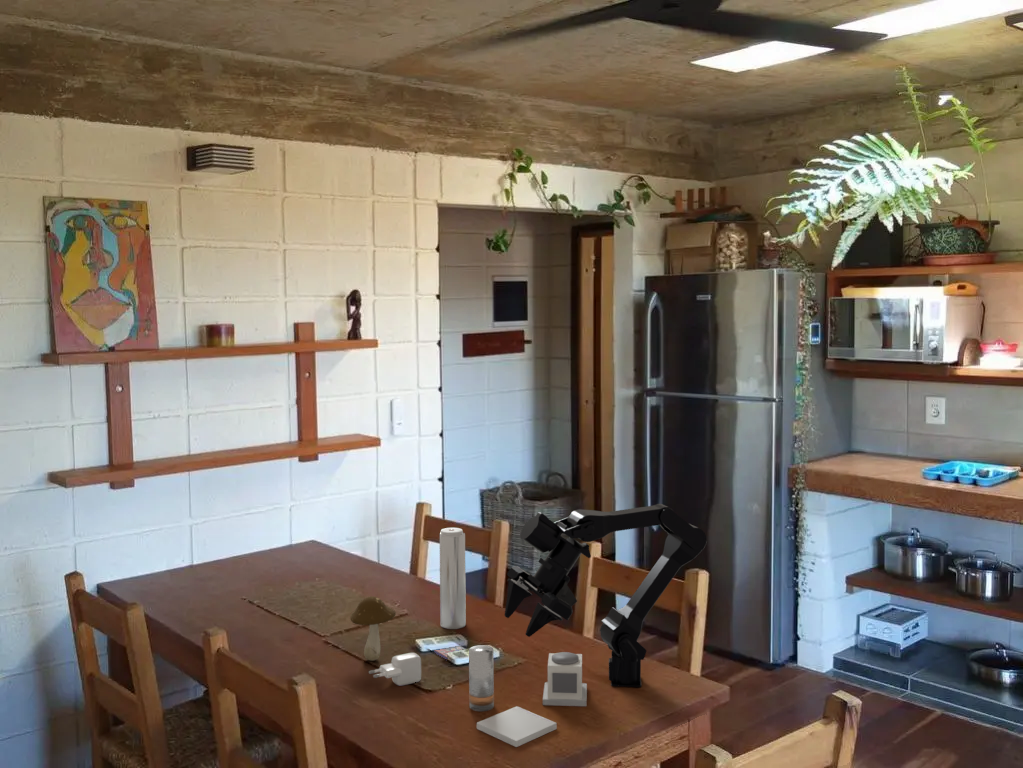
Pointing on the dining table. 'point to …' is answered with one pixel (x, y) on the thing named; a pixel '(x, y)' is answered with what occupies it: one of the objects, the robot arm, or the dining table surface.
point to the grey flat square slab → (516, 726)
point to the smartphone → (444, 651)
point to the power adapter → (401, 669)
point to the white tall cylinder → (452, 578)
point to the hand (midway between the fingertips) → (516, 626)
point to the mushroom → (372, 622)
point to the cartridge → (481, 678)
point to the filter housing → (565, 680)
